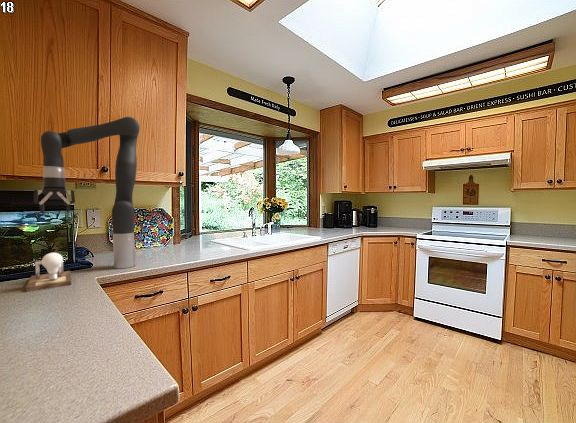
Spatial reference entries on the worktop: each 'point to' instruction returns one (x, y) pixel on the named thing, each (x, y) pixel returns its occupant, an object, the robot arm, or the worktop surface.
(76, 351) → the worktop surface
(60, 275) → the silver arch frame
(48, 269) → the lightbulb
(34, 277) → the walnut board
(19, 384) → the worktop surface
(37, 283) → the cork pad
